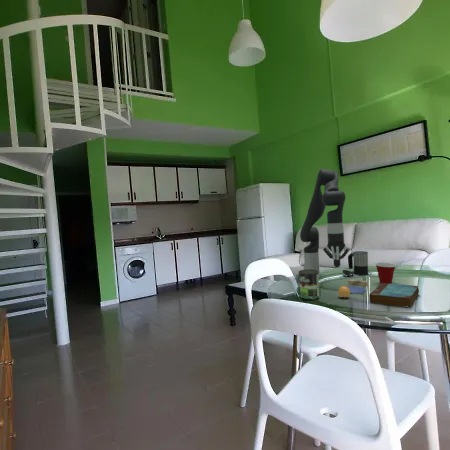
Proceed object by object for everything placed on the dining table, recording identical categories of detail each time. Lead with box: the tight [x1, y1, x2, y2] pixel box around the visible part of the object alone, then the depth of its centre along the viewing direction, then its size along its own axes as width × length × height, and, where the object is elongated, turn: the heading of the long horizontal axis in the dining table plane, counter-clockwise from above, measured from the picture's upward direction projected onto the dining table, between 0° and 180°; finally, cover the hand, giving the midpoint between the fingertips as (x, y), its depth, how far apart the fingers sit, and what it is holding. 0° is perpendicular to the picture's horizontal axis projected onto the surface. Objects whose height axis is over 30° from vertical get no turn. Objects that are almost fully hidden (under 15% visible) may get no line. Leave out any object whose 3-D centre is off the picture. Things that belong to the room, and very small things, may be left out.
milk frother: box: [342, 250, 369, 277], centre depth 212 cm, size 14×16×15 cm
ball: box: [337, 285, 351, 298], centre depth 168 cm, size 6×6×6 cm
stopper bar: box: [347, 279, 368, 287], centre depth 189 cm, size 10×2×2 cm, turn 53°
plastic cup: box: [375, 262, 397, 285], centre depth 186 cm, size 11×11×12 cm
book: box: [369, 283, 420, 308], centre depth 162 cm, size 23×18×5 cm
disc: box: [346, 285, 367, 295], centre depth 181 cm, size 14×14×1 cm
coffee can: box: [298, 269, 320, 297], centre depth 173 cm, size 10×10×14 cm
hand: (337, 267), depth 160 cm, fingers closed
